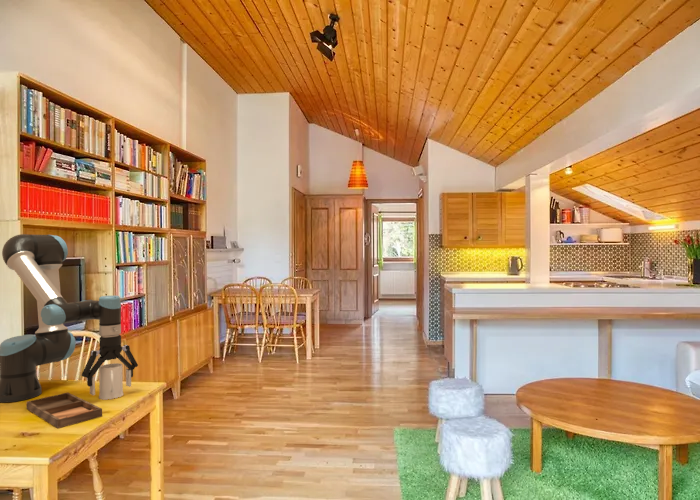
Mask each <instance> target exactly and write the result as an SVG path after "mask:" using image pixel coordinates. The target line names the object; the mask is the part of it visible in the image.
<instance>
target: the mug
mask: <svg viewBox="0 0 700 500" xmlns="http://www.w3.org/2000/svg"><path fill="white" fill-rule="evenodd" d="M98 371H99V372H98V373H99V376H98V377H99V382H98V383H99V395H98V399H99V400H103V401H106V400H107V401H108V399H109V400H115V399H118V397H119V398H122V396H124V390H123V386H124V385H123V363H115V362H114V363H108V364H102V365H101V366H100V368H99V369H98ZM114 398H115V399H114Z"/></svg>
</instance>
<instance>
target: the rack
mask: <svg viewBox="0 0 700 500" xmlns="http://www.w3.org/2000/svg"><path fill="white" fill-rule="evenodd" d="M26 410H28V411H30V412H31V413H32V414H34V415H35V416H37V417H39V418H40V419H42V420H44V421H45V422H47V423H49V424H50V425H52V426H54V428H56V429H60V428H64V427H68V426H72V425H75V424H79V423H82V422H86V421H87V422H88V421H90V420H93V419H97V418H101V417H103V408H102V407H99V406H97V405H95V404H93V403H91V402H88V401H87V400H85V399H83V398H81V397H78V396H77V395H74V394H71V393H70V392H64V393H61V394H55V395H50V396H46V397H42V398H37V399H33V400H29V401H26Z"/></svg>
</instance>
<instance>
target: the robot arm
mask: <svg viewBox="0 0 700 500" xmlns="http://www.w3.org/2000/svg"><path fill="white" fill-rule="evenodd" d="M1 251H2V252H1V255H2V259H3V262H4V264H5V265H6V267H7V268H8V269H9V270H11V271H14V272H15V273H16V275H17V276H18V277H19V279H20V280H21V281H22V283H23V284H24V286H25V287H26V288H27V289H28V290H29V292H30V293H31V295H32V296H33V298H35V300H36V305H37V317H38V319H37V320H38V329H37V330H36V331H35V332H34V334H22V335H17V336H12V337H10V338H7V339H5V340H3V341H1V343H0V403H12V402H21V401H26V400H30V399H33V398H36V397H38V396H40V395H42V385H41V383H40V380H39V378H38V376H37V367H38V366H42V365H48V364H53V363H59V362H61V361H64V360H68V359H69V358H70V357H71V356H72V355H73V354H74V352H75V350H76V349H75V348H76V338H75V336H74V334H73V333H72V332H71V331H69V329H68V327H67V326H65V324H68V323H69V324H70V323H76V322H83V321H89V320H90V321H91V320H95V321H96V320H98V321H99V325H98V326H99V327H98V329H99V330H98V331H99V338H98V339H99V350H93V349H92V350H90V352H89V353H90V354H89V358H88V360H87V362H86V364H85V367H84V369H83V371H82V372H81V377H83V378H86V382H87V383H86V385H87V387H89V394H90V396H95V395H96V378H95V376H94V375H95V374H96V373H97V371H99V368H100V366H102V365H104V363H105V362H106V361H111V360H116V359H118V361H120V362H121V364H122V365H124V366H125V367H126V369H125V386H127V387H129V388H130V387H132V378H133V377H134V370H135V368H137V367H138V366H139V364H138V362H137V361H136V359H135V357H134V355H133V353H132V351H131V348H130V345H127V344H124V345H123V346H122V335H121V334H122V303H121V297H120V295H101V296H100V297H99V299H98V300H95V299H86V300H85V299H84V300H81V301H73V302H72V301H71V302H67V300H66V299H65V298H64V297H63V296H62V294H61V283H60V281H61V280H60V272H59V270H60V268H62V266H63V262H64V261H66V260H67V256H68V254H69V250H68V245H67V243H66V241H65V240H64V239H63V238H62V237H61V236H58V235H53V234H27V233H26V234H24V233H22V234H16V235H13V236H11V237H10V238H8V239H7V240H6V242H5V243H4V244H3V247H2V250H1ZM122 351H123V352H124V354H125V355H126V357H127V358H128V360H129V361H128V360H127V359H126V358H125V357H124V356H123V355H122V354H121V353H122ZM98 355H99V357H98ZM97 357H98V358H97ZM96 358H97V361H96V362H95V360H96Z"/></svg>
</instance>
